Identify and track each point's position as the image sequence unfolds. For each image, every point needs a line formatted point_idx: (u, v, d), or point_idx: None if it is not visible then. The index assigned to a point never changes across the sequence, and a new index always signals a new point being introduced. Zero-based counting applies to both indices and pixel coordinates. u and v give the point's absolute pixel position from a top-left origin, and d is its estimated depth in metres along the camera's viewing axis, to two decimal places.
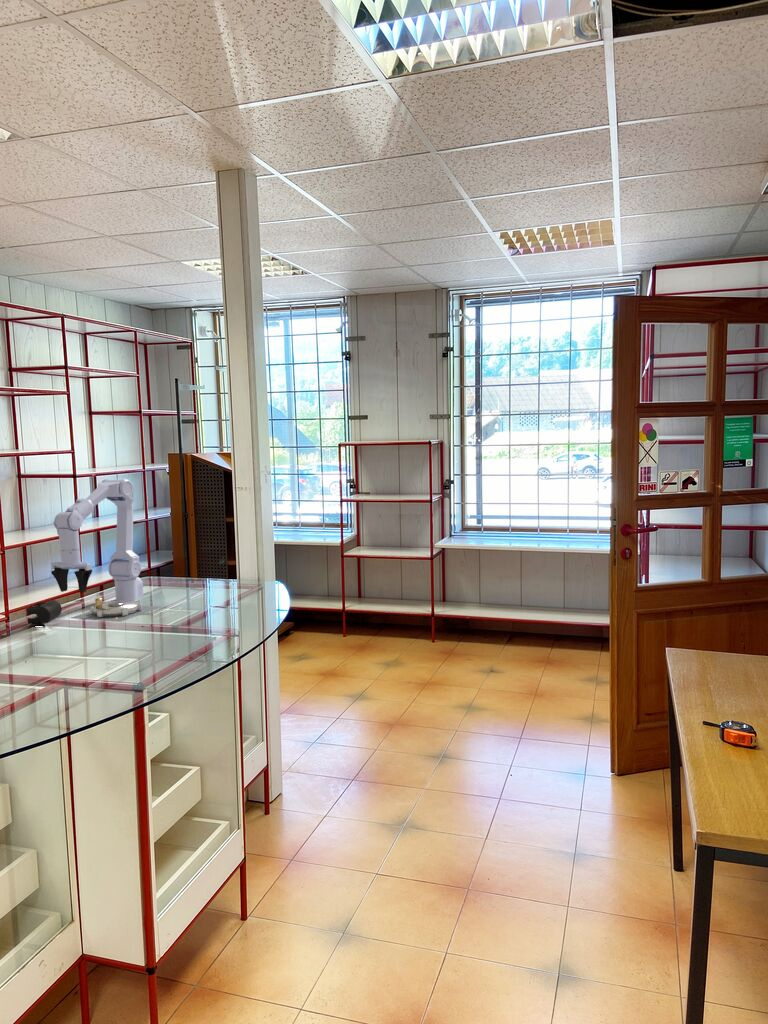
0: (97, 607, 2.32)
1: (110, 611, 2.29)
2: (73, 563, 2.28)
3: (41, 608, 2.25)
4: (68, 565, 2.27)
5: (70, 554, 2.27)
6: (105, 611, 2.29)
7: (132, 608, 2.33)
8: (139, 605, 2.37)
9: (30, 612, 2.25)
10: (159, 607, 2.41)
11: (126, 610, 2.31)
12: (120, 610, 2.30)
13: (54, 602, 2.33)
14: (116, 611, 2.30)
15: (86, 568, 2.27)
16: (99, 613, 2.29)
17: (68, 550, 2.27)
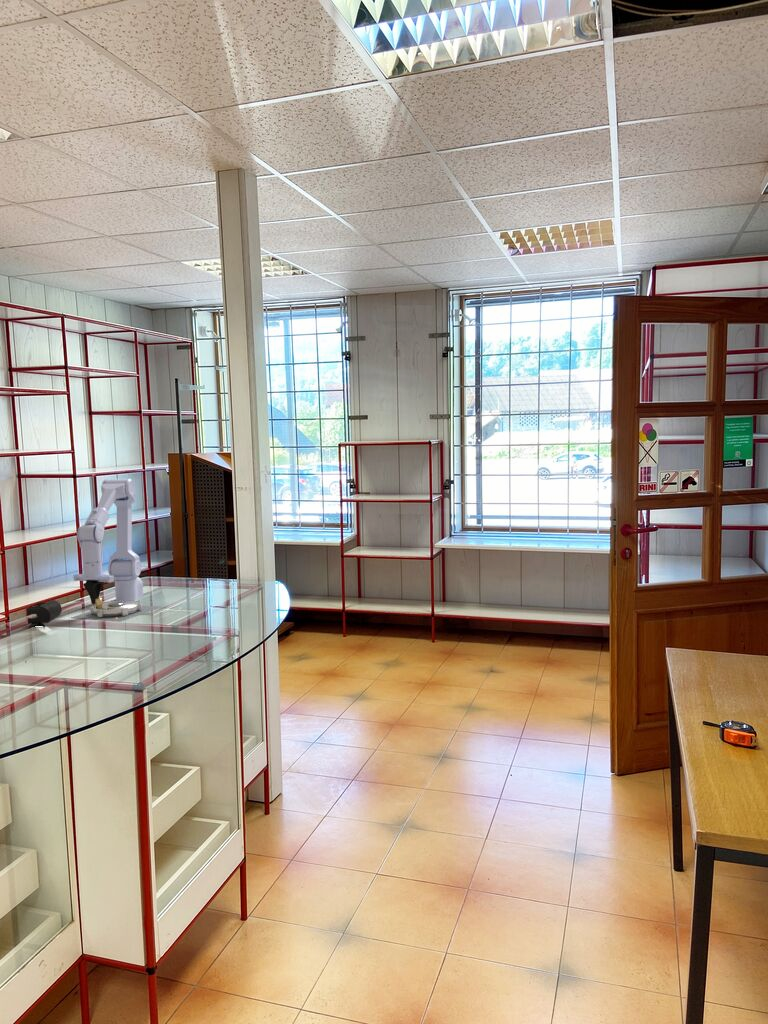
0: (97, 607, 2.32)
1: (110, 611, 2.29)
2: (95, 575, 2.30)
3: (41, 608, 2.25)
4: (90, 577, 2.29)
5: (93, 566, 2.29)
6: (105, 611, 2.29)
7: (132, 608, 2.33)
8: (139, 605, 2.37)
9: (30, 612, 2.25)
10: (159, 607, 2.41)
11: (126, 610, 2.31)
12: (120, 610, 2.30)
13: (54, 602, 2.33)
14: (116, 611, 2.30)
15: (108, 580, 2.29)
16: (99, 613, 2.29)
17: (91, 562, 2.29)
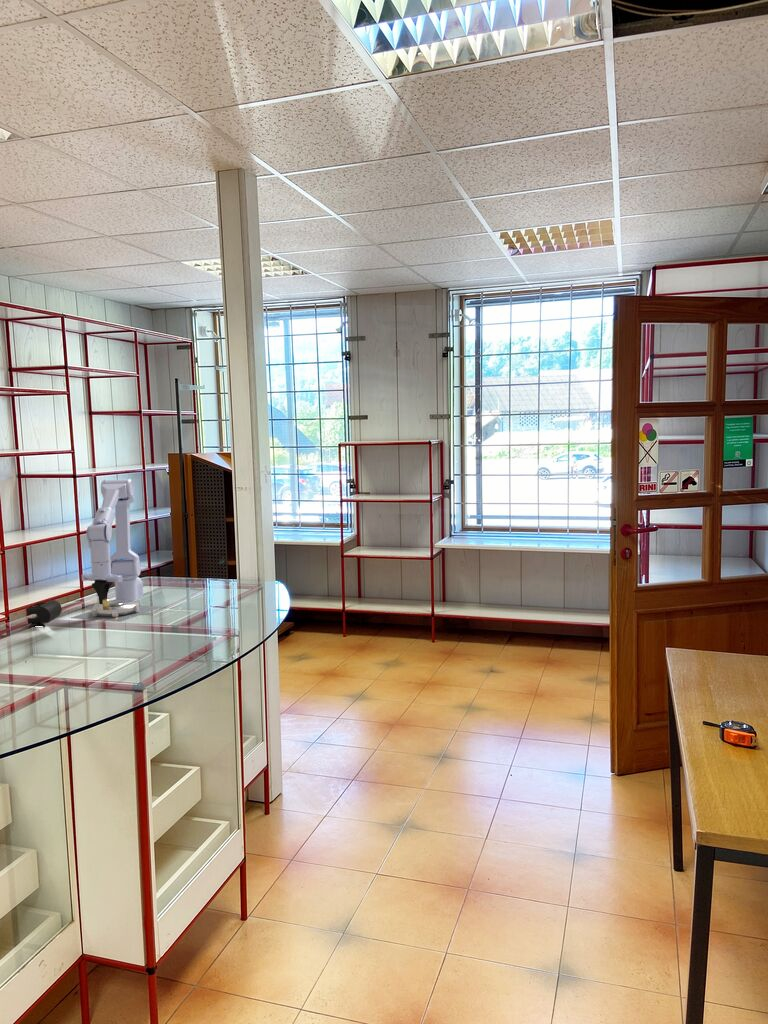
0: (106, 608, 2.30)
1: (125, 609, 2.31)
2: (104, 575, 2.29)
3: (41, 608, 2.25)
4: (99, 577, 2.28)
5: (101, 566, 2.28)
6: (120, 610, 2.30)
7: (138, 605, 2.38)
8: (138, 602, 2.41)
9: (30, 612, 2.25)
10: (159, 607, 2.41)
11: (138, 607, 2.35)
12: (133, 607, 2.34)
13: (54, 602, 2.33)
14: (130, 609, 2.33)
15: (117, 580, 2.28)
16: (115, 613, 2.29)
17: (99, 562, 2.28)
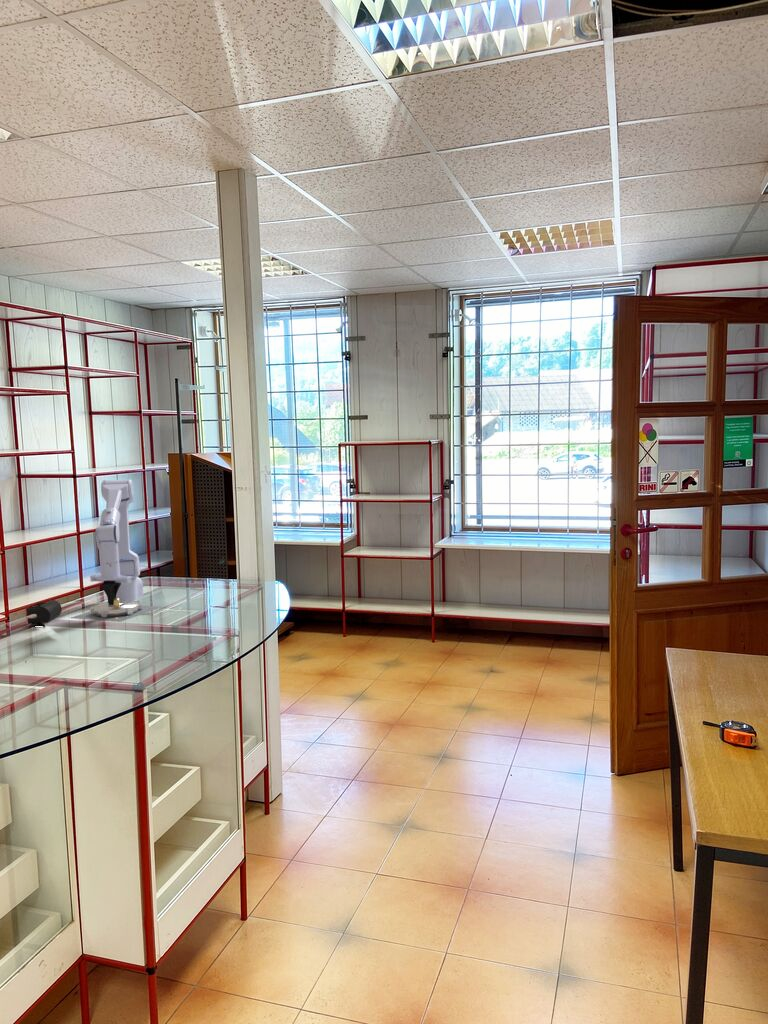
0: (118, 607, 2.31)
1: (135, 606, 2.35)
2: (113, 576, 2.28)
3: (41, 608, 2.25)
4: (108, 578, 2.27)
5: (110, 567, 2.27)
6: (132, 607, 2.33)
7: None
8: (129, 601, 2.43)
9: (30, 612, 2.25)
10: (159, 607, 2.41)
11: None
12: (138, 604, 2.38)
13: (54, 602, 2.33)
14: (138, 606, 2.37)
15: (126, 581, 2.27)
16: (130, 610, 2.31)
17: (108, 563, 2.27)
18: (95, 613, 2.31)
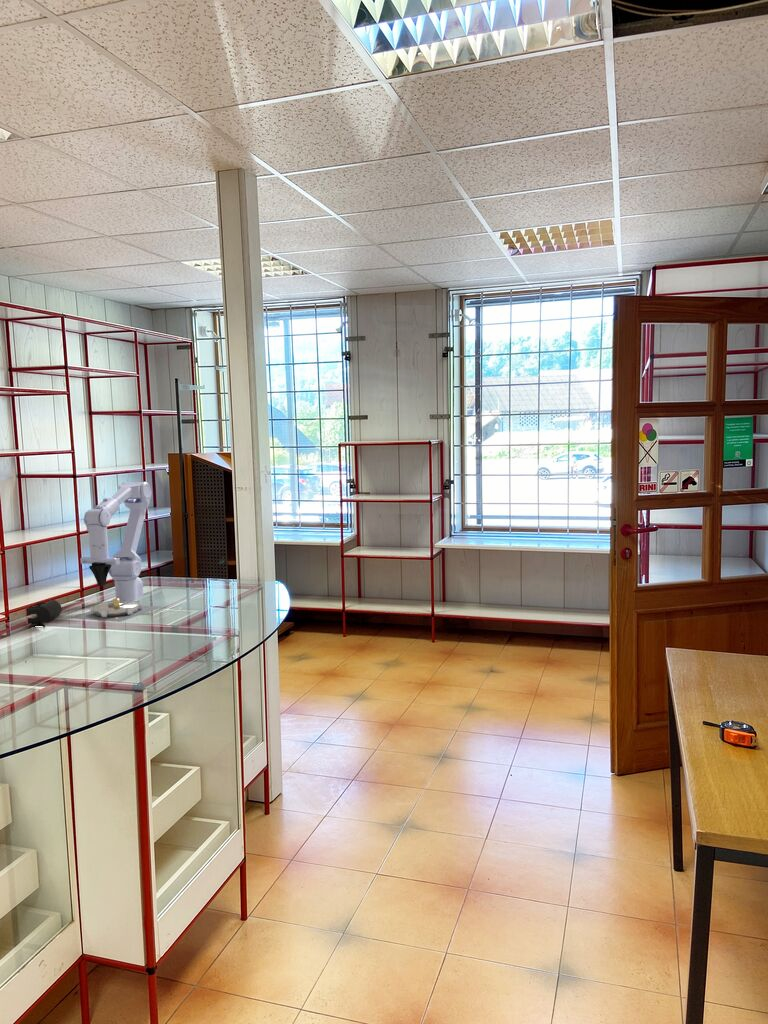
0: (118, 607, 2.31)
1: (135, 606, 2.35)
2: (102, 558, 2.38)
3: (41, 608, 2.25)
4: (97, 560, 2.37)
5: (99, 549, 2.37)
6: (132, 607, 2.33)
7: None
8: (129, 601, 2.43)
9: (30, 612, 2.25)
10: (159, 607, 2.41)
11: None
12: (138, 604, 2.38)
13: (54, 602, 2.33)
14: (138, 606, 2.37)
15: (114, 563, 2.37)
16: (130, 610, 2.31)
17: (97, 545, 2.37)
18: (95, 613, 2.31)
